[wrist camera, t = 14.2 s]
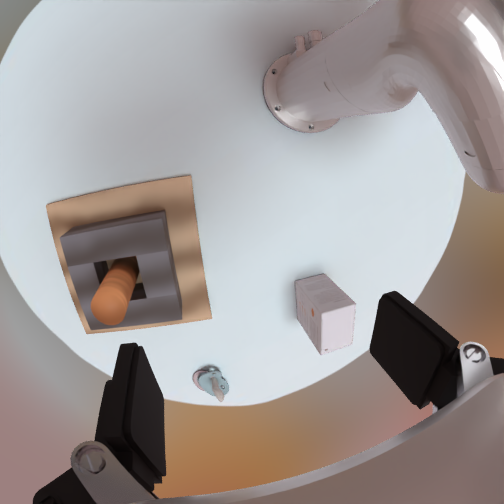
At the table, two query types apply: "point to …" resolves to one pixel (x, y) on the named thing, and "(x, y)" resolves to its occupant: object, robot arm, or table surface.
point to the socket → (134, 251)
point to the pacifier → (211, 383)
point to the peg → (115, 291)
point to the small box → (325, 313)
